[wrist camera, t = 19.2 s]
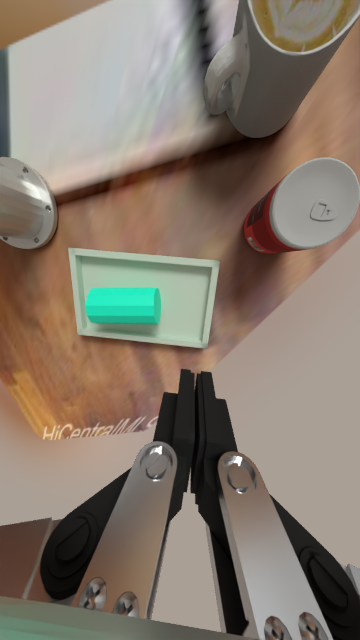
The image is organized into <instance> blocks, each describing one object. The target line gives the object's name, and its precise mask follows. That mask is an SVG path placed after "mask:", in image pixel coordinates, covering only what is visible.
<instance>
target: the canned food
mask: <svg viewBox="0 0 360 640" xmlns="http://www.w3.org/2000/svg"><path fill="white" fill-rule="evenodd" d="M359 201H360V186H359V182H358V179H357V176H356V174H355V173H354V171H353V170H352V169H351V168H350V167H349V166H348V165H347V164H346V163H344V162H342V161H340V160H338V159H334V158H329V157H327V158H317V159H313V160H309V161H307V162H305V163H303V164H301V165H300V166H298V167H297V168H295V169H294V170H292V171H291V172H290V173H289V174H287V175H286V176H285V177H284V178H283V179H282V180H281V181H280V182H279V183H278V184H277V185H276V186H274V187H273V188H272V189H271V190H270V191H269V192H268V193H267V194H266V195H265V196H264V197H263V198H262V199H261V200H260V201H259V202H258V203H257V204H256V205H255V206H254V207H253V208H252V209H251V210H250V212H249V213H248V215H247V217H246V220H245V224H244V234H245V238H246V240H247V242H248V244H249V245H250V246H251V247H252V248H253V249H254V250H256V251H258V252H260V253H265V254H271V253H280V252H290V251H300V250H307V249H312V248H317V247H320V246H323V245H325V244H328V243H329V242H331V241H333V240H334V239H336V238H337V237H338V236H339V235H341V234H342V233H343V232H344V231H345V230H346V228H347V227H348V226H349V225H350V223H351V222H352V220H353V218H354V216H355V214H356V212H357V209H358V205H359Z"/></svg>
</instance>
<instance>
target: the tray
mask: <svg viewBox="0 0 360 640" xmlns="http://www.w3.org/2000/svg"><path fill="white" fill-rule="evenodd" d="M68 250H69V259H70V268H71V277H72V286H73V295H74V304H75V313H76V322H77V331H78V335H87V336H96V337H105V338H115V339H124V340H133V341H142V342H151V343H160V344H169V345H178V346H187V347H196V348H206V349H207V345H208V339H209V332H210V325H211V318H212V312H213V305H214V298H215V291H216V285H217V278H218V271H219V264H220V261H215V260H203V259H192V258H180V257H169V256H158V255H146V254H135V253H123V252H112V251H100V250H89V249H77V248H68ZM136 287H158V289H159V291H160V296H161V317H160V322H159V324H158V325H142V324H95V323H91V322H90V320H89V319H88V317H87V314H86V308H85V304H86V299H87V295H88V293H89V291H90V289H92V288H136Z"/></svg>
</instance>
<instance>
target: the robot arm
mask: <svg viewBox="0 0 360 640" xmlns="http://www.w3.org/2000/svg"><path fill="white" fill-rule="evenodd" d="M57 219H58V215H57V207H56V203H55V199H54V196H53V194H52V192H51V190H50V188H49V186H48V185H47V183H46V182H45V180H44V179H43V178H42V177H41V175H39V174H38V173H37V172H36V171H35V170H34V169H33V168H31V167H30V166H28V165H26V164H25V163H23V162H21V161H19V160H16V159H13V158H9V157H0V239H1V240H2V241H4V242H6V243H7V244H9V245H11V246H14V247H16V248H21V249H37V248H40V247H42V246H44V245H45V244H47V243H48V242H49V241H50V240H51V238H52V237H53V235H54V233H55V230H56V227H57ZM190 468H191V493H194V494H195V504H198V511H199V513H200V514H201V516H202V517H203V519H204V520H205V522H206V533H207V539H208V546H209V553H210V559H211V566H212V573H213V579H214V586H215V593H216V600H217V606H218V613H219V620H220V627H221V632H216V631H210V630H205V629H199V628H193V627H188V626H182V625H176V624H170V623H164V622H159V621H154V620H151V618H152V613H153V608H154V603H155V598H156V593H157V587H158V582H159V577H160V572H161V567H162V562H163V557H164V552H165V547H166V542H167V537H168V532H169V526H170V521H171V520H172V518H173V517H174V516H175V515H176V514H177V513H178V512H179V510H181V506H182V500H183V493H184V492H187V487H188V481H189V474H190ZM0 640H360V569H359V568H357V567H355V566H352V565H350V564H348V565H347V567H346V566H343V565H341V564H339V563H338V562H337V561H336V559H335V558H334V557H333V556H332V555H331V554H330V553H329V552H328V551H327V550H326V549H325V548H324V547H323V546H322V545H321V544H320V543H319V542H318V541H317V540H316V539H315V538H314V537H313V536H312V535H311V534H310V533H309V532H308V531H307V530H306V529H305V528H304V527H303V526H302V525H301V524H299V522H298V521H297V520H296V519H295V518H293V517H292V516H291V515H290V514H289V513H288V512H287V511H286V510H285V509H284V508H283V507H282V506H281V505H280V504H279V503H278V502H277V501H276V500H275V499H274V498H273V497H272V496H271V495H270V494H269V492H268V490H267V488H266V486H265V483H264V481H263V479H262V477H261V474H260V472H259V471H258V469H257V467H256V466H255V464H254V463H253V462H252V461H251V460H250V459H249V458H248V457H246V456H245V455H244V454H241V453H239V452H238V451H237V446H236V442H235V438H234V434H233V429H232V425H231V420H230V416H229V412H228V408H227V404H226V400H225V399H217V398H216V397H215V391H214V385H213V379H212V373H211V372H204V371H201V374H198V373H197V378H196V385H195V388H194V373H191V370H187V369H181V374H180V383H179V391H178V394H176V393H168V392H164V394H163V399H162V403H161V408H160V412H159V416H158V421H157V425H156V430H155V435H154V439H153V442H151V443H149V444H147V445H145V446H144V447H143V448H142V449H141V450H140V452H139V453H138V455H137V457H136V459H135V461H134V464H133V466H132V467H131V468H130V469H129V470H128V471H126V472H125V473H123V474H122V475H121V476H119V477H118V478H117V479H115V480H114V481H113V482H111V483H110V484H108V485H107V486H106V487H104V488H103V489H102V490H100V491H99V492H98V493H96V494H95V495H94V496H92V497H91V498H89V499H88V500H87V501H85V502H84V503H83V504H81V505H80V506H79V507H77V508H76V509H75V510H73V511H72V512H71V513H69V514H68V515H67V516H66V517H65V518H64V519H59V520H53V521H52V518H45V519H39V520H33V521H27V522H21V523H15V524H10V525H3V526H0Z"/></svg>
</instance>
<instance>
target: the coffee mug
mask: <svg viewBox="0 0 360 640" xmlns="http://www.w3.org/2000/svg"><path fill="white" fill-rule="evenodd" d="M359 16H360V0H239V5H238V11H237V16H236V22H235V28H234V34H233V38H232V39H231V40H230V41H229V42H227V43H226V44H225V45H224V46H223V47H222V48H221V49H220V50H219V51H218V52H217V54H216V55H215V56H214V58H213V60H212V61H211V63H210V66H209V68H208V70H207V74H206V77H205V81H204V100H205V104H206V107H207V109H208V111H209V113H211V114H212V115H218V114H220V113H223V112H224V111H226V112H227V115H228V118H229V120H230V121H231V123H232V124H233V126H234V127H235V128H236V130H238V131H239V132H240V133H242V134H243V135H245V136H248V137H251V138H262V137H266V136H269V135H271V134H273V133H275V132H277V131H278V130H280V129H281V128H282V127H283V126H284V125H285V124H286V123H287V122H288V121H289V120H290V119H291V117H292V116H293V114H294V113H295V111H296V110H297V108H298V107H299V105H300V104H301V102H302V101H303V99H304V98H305V96H306V95H307V94H308V92H309V91H310V89H311V88H312V86H313V85H314V83H315V82H316V80H317V79H318V77H319V76H320V74H321V73H322V71H323V70H324V68H325V67H326V65H327V64H328V62H329V61H330V59H331V58H332V56H333V55H334V53H335V52H336V50H337V49H338V48H339V46H340V45H341V43H342V42H343V40H344V39H345V37H346V36H347V34H348V33H349V31H350V30H351V28H352V27H353V25H354V24H355V22H356V21H357V19H358V18H359ZM224 82H225V85H224V87H223V88H222V89H221V87H222V85H223V84H224ZM220 89H221V90H220Z"/></svg>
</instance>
